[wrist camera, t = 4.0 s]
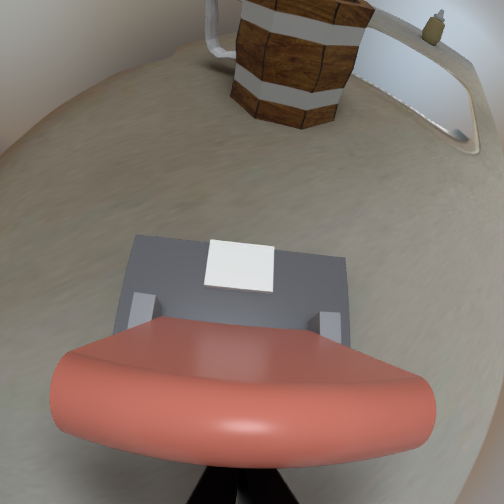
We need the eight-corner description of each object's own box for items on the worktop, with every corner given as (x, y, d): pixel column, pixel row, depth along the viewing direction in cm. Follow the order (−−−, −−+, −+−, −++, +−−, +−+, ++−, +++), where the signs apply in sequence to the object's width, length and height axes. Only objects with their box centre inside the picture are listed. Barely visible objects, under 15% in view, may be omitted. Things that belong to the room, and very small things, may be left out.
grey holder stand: (334, 395, 17) (366, 393, 13) (120, 376, 16) (93, 370, 12) (332, 272, 21) (357, 243, 17) (143, 252, 20) (128, 217, 16)
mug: (351, 102, 34) (387, 9, 20) (310, 146, 28) (357, 12, 14) (233, 52, 37) (243, -32, 24) (169, 83, 31) (167, -24, 18)
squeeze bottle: (428, 44, 72) (443, 10, 56) (416, 35, 76) (429, 2, 60) (440, 49, 74) (455, 17, 58) (427, 39, 77) (441, 9, 62)
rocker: (305, 364, 15) (422, 461, 4) (159, 351, 14) (56, 446, 4) (309, 330, 15) (444, 385, 5) (161, 315, 15) (47, 360, 4)
